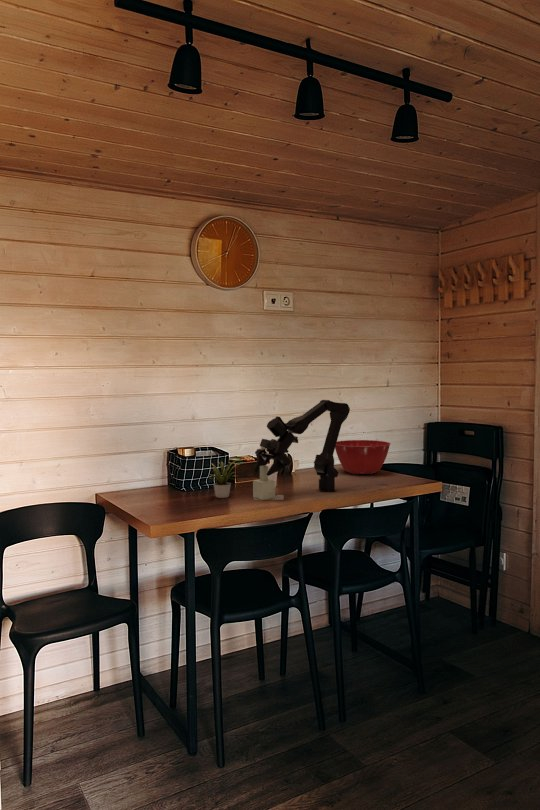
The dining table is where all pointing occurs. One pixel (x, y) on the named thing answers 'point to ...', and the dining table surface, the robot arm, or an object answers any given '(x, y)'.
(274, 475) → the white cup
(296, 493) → the dining table surface
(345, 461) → the mixing bowl
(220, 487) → the house plant
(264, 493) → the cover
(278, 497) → the slate mat
